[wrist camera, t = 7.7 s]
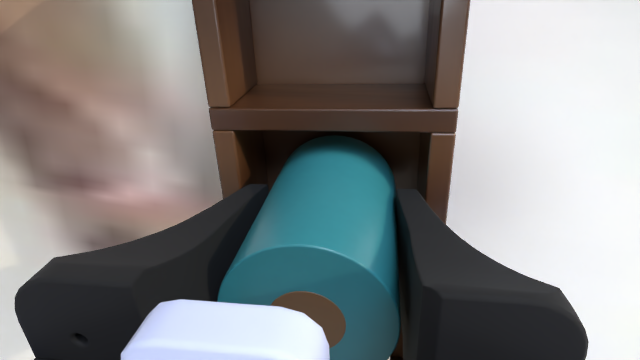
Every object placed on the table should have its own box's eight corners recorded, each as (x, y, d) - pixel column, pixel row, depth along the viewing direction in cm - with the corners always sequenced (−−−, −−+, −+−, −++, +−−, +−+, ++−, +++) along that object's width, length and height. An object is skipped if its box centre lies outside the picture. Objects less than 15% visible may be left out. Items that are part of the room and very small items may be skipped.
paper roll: (393, 240, 16) (396, 395, 10) (284, 235, 16) (229, 378, 11) (398, 135, 14) (406, 251, 8) (275, 133, 15) (202, 240, 9)
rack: (418, 360, 21) (423, 428, 18) (274, 347, 22) (256, 410, 19) (465, -155, 12) (492, -199, 9) (218, -135, 13) (163, -168, 10)
